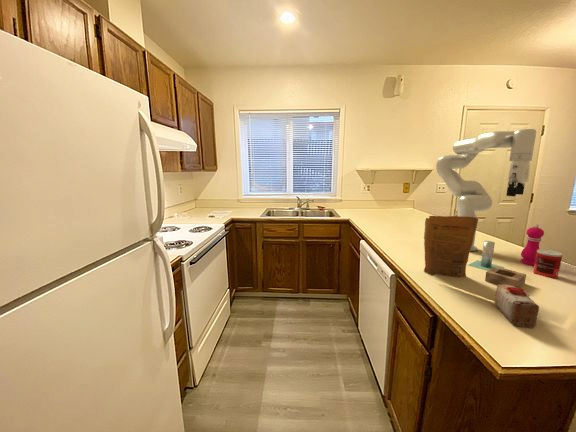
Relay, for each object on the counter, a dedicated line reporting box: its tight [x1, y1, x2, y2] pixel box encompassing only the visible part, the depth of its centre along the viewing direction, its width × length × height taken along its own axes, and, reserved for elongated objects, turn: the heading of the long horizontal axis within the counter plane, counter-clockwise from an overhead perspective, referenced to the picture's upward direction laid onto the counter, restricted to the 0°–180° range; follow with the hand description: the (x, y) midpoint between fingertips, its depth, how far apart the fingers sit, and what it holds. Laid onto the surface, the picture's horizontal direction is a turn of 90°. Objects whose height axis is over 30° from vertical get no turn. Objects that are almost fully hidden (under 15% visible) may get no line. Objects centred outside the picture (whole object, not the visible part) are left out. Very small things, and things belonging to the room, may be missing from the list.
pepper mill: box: [520, 223, 545, 267], centre depth 120 cm, size 7×7×20 cm
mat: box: [467, 259, 505, 272], centre depth 118 cm, size 11×11×1 cm
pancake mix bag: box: [423, 215, 479, 278], centre depth 109 cm, size 7×19×28 cm, turn 61°
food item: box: [494, 285, 540, 329], centre depth 81 cm, size 14×8×10 cm, turn 161°
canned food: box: [532, 248, 563, 280], centre depth 108 cm, size 8×8×11 cm
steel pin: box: [480, 240, 496, 268], centre depth 117 cm, size 4×4×12 cm
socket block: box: [484, 266, 527, 288], centre depth 102 cm, size 10×10×5 cm
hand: (514, 195), depth 116 cm, fingers open, 9 cm apart
